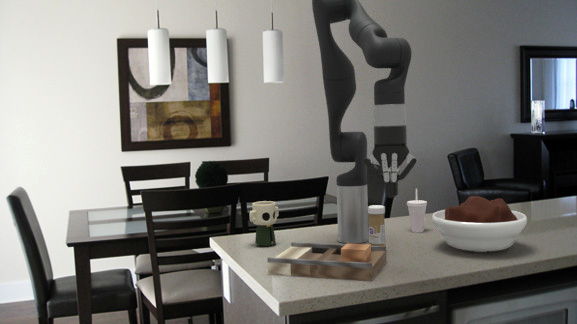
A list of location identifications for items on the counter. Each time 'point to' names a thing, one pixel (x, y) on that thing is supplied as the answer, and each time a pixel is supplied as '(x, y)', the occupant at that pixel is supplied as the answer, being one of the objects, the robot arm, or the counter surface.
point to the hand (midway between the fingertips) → (391, 197)
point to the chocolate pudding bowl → (480, 225)
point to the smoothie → (417, 214)
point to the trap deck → (325, 262)
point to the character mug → (264, 221)
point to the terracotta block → (356, 253)
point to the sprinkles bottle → (376, 225)
